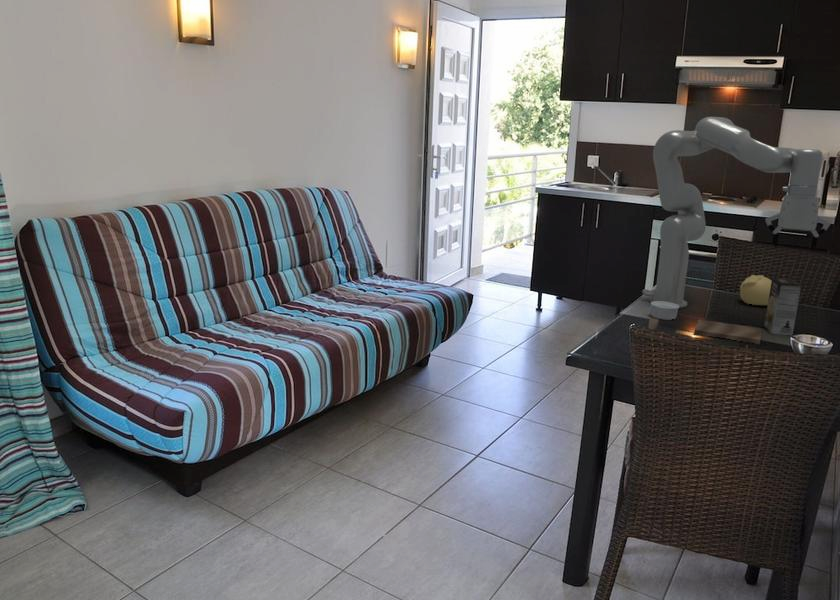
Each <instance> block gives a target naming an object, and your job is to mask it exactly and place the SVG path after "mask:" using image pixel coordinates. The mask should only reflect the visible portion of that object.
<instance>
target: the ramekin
mask: <svg viewBox="0 0 840 600" xmlns="http://www.w3.org/2000/svg"><path fill="white" fill-rule="evenodd" d="M679 309H680V308H679V305H677V304H674V303H670V302H663V301H655V302H650V316H651V317H653V318H655V319H656V320H657V319H658V320H663V321H672V319H674V320H675V319H676V318H677V316H678V312H679Z"/></svg>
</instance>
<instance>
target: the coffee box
mask: <svg viewBox="0 0 840 600" xmlns="http://www.w3.org/2000/svg"><path fill="white" fill-rule="evenodd" d="M771 281H772V282H771V288H770V294H769V300H768V305H766V306H767V307H766V314H765V319H764V327H765V328H766V330H767V331H768V332H770V334H772V335H781V336H782V335H784V336H793V335H794V333H793V332H794V328H795V322H796V317H797V312H798V306H799V302H800V301H799V300H800V296H801V290H802V284H800V283H799V282H797V281H796V280H795V279H794V278H782V277H781V278H779V277H772V278H771Z"/></svg>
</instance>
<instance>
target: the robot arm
mask: <svg viewBox="0 0 840 600" xmlns="http://www.w3.org/2000/svg"><path fill="white" fill-rule="evenodd" d="M712 149H718V150H720V151H723V152H724V153H727V154H728V155H731V156H733V157H734V158H735V159H737V160H738V161H739V162H740V163H743V164H745V165H747V166H750V167H752V168H755V169H756V170H759V171H761V172H763V173H769V174H776V173H778V174H782V173H783V174H784V173H790V175H789V181H788V185H787V186H782V191H783V192H785V193H787V194H785V195H784V196H783V199H782V202H781V205H780V211H779V212H778V213H776V214H774V215H772V216H769V217H767V218H765V219H764V220H765V224H766V225H767V227H768V229H769V230H770V231H771V232H772V235H773V236H772V241H771V245H774V246H773V247H774V248H777V247H778V243H779V235H780V234H779V232H781V230H783V229H784V230H792V231H793V230H794V231H806V232H807V231H808V232H811V233H812V236H811V238H810V242H809V243H810V244H809V250H810V251H814V248H815V249H816V248H817V247H816V246H817V241H818V238H819V237H820V236H822V235H823V234H824V233H825V232H826V231H827V230H828V228H829V227H830V226H831V222H829V221H827V220H825V219H823V218H822V217H820V216H819V208H820V205H819V203H820V200H819V197H818V196H817V191H818V185H819V180H820V179H819V177H820V173H821V166H822V162H823V161H822V160H823V151H821V150H820V149H816V148H815V149H811V148H810V149H809V148H799V149H796V148H792V147H782V146H781V147H779V146H778V147H777V146H771V145H768V144H766V143H764V142H762V141H758V140H757V139H755V138H753V137H751V132H750V131H749V130H748V129H745V128H743V127H740V126H737V125H736V124H734V122H733V121H732V120H731V119H729V118H727V117H723V116H722V117H720V116H707V117H706V116H705V117H704V118H702V119H700V120H698V122H697V123H696V125H695V128H694V130H681V129H680V130H670V131H666V132H665V133H663V134H662V135H660V137H659V138H658V139H657V140H656V142H655V145H654V147H653V151H652V158H653V165H654V169H655V175H656V181H657V189H658V194H659V195H658V196H659V202H660V205H661V208H662V209H664V210H665V211H667V212H677V214H674V215H673V214H672V215H671V216H669V217H667V218H665V219H664V220H663V222H661V225H660V228H659V229H660V230H659V231H660V232H659V235H660V236H659V237H660V249H659V250H660V252H659V261H658V267H657V268H658V269H657V275H656V276H657V277H656V286H655V289H651V290H650V289H643V288H642V295H644V296H645V297H646V296H647V297H650V298H649V302H650V303H651V302H655V301H663V302H670V303H674V304H677V305H679V309H681V308H686V307H688V302H687V301H686V300H685V299H684V297H685V296H684V295H685V288H686V281H687V280H686V279H687V273H688V266H689V265H688V264H689V259H690V258H689V257H690V249H689V246H688V242H691V241H693V242H694V241H697V240H700V239H701V238H702V236H703V235H704V233H705V231H706V225H707V224H706V217H705V211H704V203H703V198H702V195H701V191H700V190H699V188H698V187H697V186H695V185H694V184H691V183H687V182H686V183H685V180H684V173H683V169H682V166H681V163H680V162H679V159H678V157H693V156H694V157H695V156H698V155H700V154H703V153H705V152H709V151H710V150H712ZM777 219H778V222H777V226H776V227H775V226H774V225H773V224H772V221H776V220H777ZM818 222H819V223H820V224H822V225H823V226H822V227H821V228H820V229H818V230H816V228H817V225H818Z"/></svg>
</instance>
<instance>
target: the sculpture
mask: <svg viewBox="0 0 840 600" xmlns="http://www.w3.org/2000/svg"><path fill="white" fill-rule="evenodd" d="M771 282H772V279H770V278H768V277H765V276H764V275H763V274H762V275H755V274H751V275H750V276H748V277H746V278H745V279H744V280H743V281H742V282H741V285H740V287H739V294H740V299H741V300H742V301H743V303H745V304H746V303H747V304H746V305H749V304H752V305H751V306H768V300H769V294H770V288H771Z"/></svg>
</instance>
